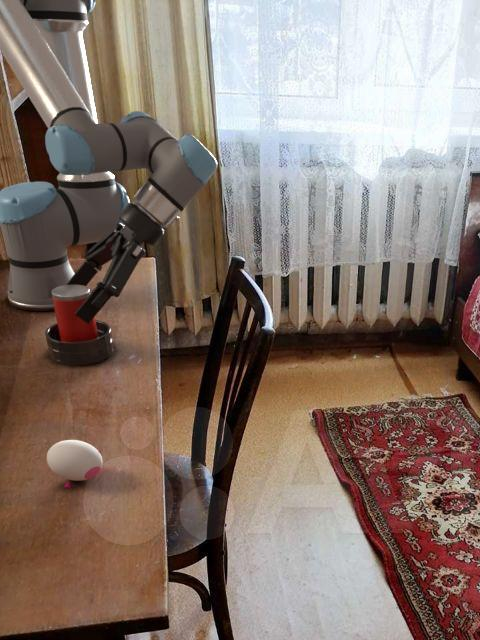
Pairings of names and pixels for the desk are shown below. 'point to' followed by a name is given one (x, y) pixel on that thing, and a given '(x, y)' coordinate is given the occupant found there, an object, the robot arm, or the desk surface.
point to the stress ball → (74, 460)
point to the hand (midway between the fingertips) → (75, 305)
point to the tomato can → (72, 313)
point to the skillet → (80, 347)
